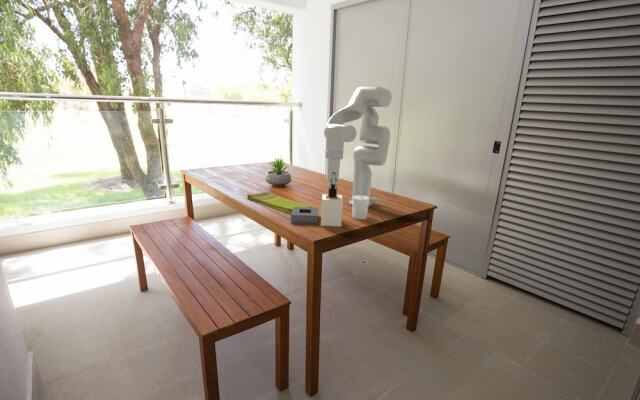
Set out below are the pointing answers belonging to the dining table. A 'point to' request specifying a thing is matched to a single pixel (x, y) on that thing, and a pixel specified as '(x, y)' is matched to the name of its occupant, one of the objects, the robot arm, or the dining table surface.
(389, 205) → the dining table surface
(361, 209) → the white cup
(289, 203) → the dish towel
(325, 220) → the upper stand
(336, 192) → the plug
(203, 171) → the dining table surface
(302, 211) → the lower socket plate
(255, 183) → the dining table surface
